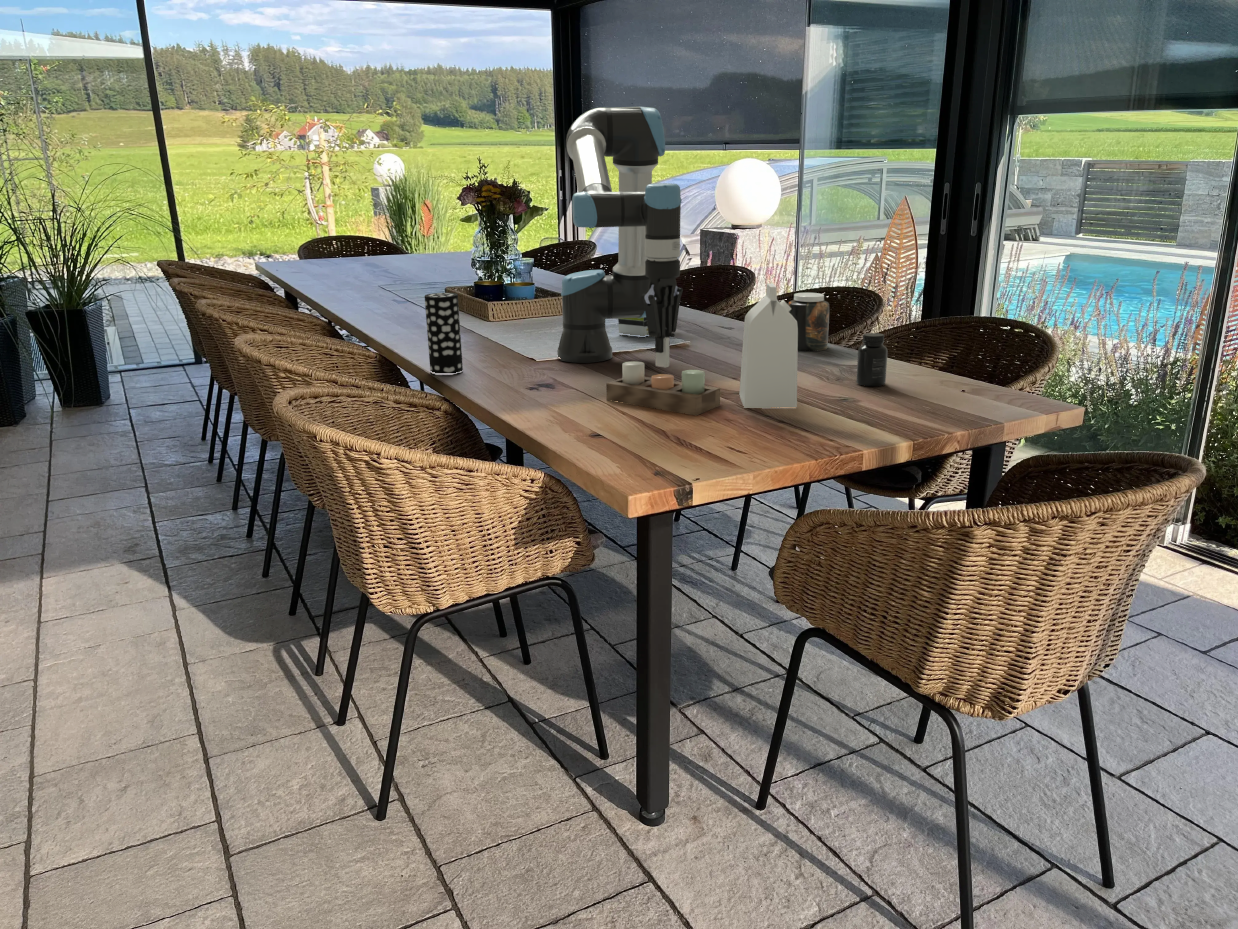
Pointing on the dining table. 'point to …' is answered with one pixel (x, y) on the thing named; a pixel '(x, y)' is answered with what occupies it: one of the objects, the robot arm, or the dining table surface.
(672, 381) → the peach rounded cylinder
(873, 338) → the supplement bottle
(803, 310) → the jar
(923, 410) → the dining table surface
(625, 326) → the tea box
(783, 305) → the milk
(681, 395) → the wooden compartment tray
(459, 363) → the white-spotted black cylinder
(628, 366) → the off-white button
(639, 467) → the dining table surface
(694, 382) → the pale green domed cylinder
